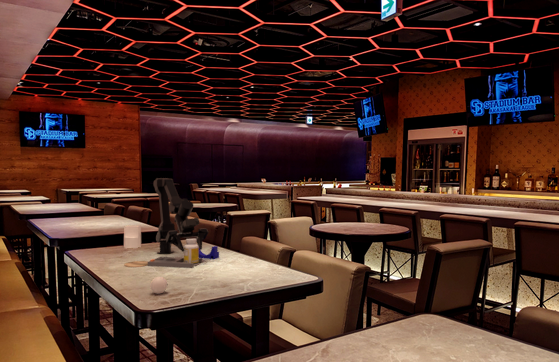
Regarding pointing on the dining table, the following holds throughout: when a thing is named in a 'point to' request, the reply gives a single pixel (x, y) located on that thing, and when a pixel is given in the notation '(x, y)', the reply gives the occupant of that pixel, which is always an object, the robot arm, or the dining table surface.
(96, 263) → the dining table surface
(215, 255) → the cable clip
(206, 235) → the robot arm
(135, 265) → the cork coaster
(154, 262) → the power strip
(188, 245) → the pill bottle
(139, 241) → the cylinder with rectangular tab
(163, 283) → the plastic egg
